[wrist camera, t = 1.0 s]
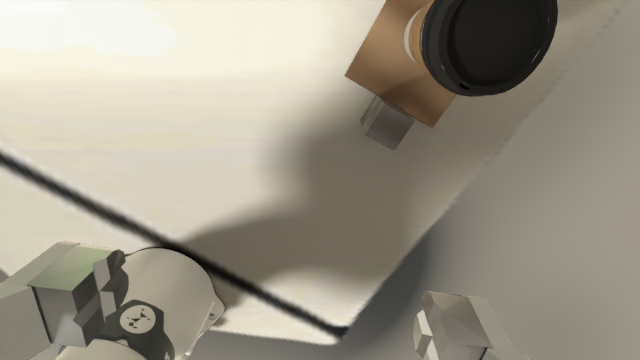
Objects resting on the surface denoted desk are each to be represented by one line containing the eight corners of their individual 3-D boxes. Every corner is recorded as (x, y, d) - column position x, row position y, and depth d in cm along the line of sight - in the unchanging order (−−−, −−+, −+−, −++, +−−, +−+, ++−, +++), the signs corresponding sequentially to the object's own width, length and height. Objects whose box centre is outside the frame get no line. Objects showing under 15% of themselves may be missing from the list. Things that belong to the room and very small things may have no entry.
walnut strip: (414, 151, 39) (427, 169, 34) (329, 103, 37) (328, 114, 32) (528, -9, 32) (569, -20, 27) (431, -79, 30) (453, -106, 25)
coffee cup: (377, 55, 35) (406, 65, 21) (420, -27, 32) (487, -77, 18) (441, 91, 36) (508, 122, 22) (489, 15, 33) (601, -1, 19)
